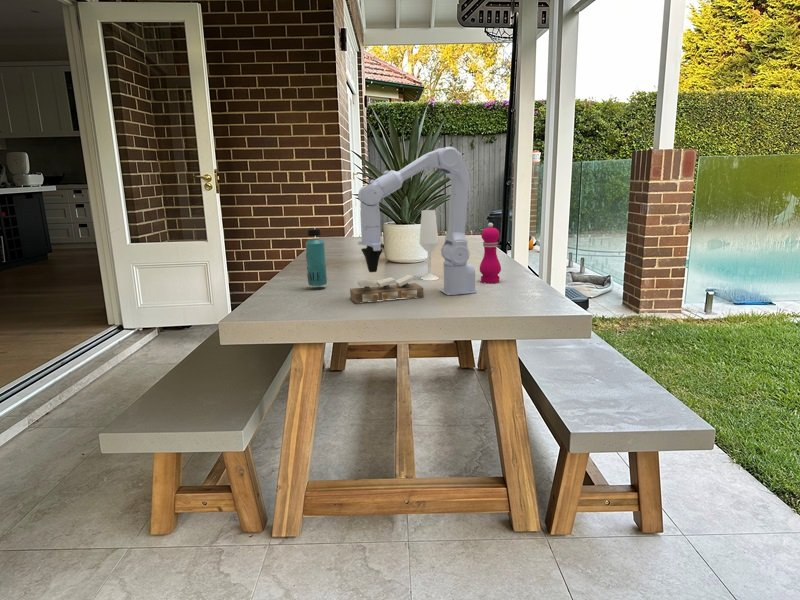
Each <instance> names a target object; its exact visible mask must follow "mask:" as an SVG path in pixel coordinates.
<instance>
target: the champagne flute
mask: <svg viewBox="0 0 800 600" xmlns="http://www.w3.org/2000/svg"><path fill="white" fill-rule="evenodd" d="M436 215H437V213H436V209H425V210H423V209H422V210H421V215H420V216H421V217H420V228H419V245H420V247H421V248H422V249H423V250H424V251H425V252H427V273H426V274H424V275H423V276H422V277H420V278H421V279H423V280H422V281H435V280H439V279H440V277H438V276H436V275H435V274H433V273H432V251H434V250H435V249H436V248H437V246H438V244H439V235H438V224H437V216H436ZM421 279H420V280H421Z"/></svg>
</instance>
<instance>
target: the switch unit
mask: <svg viewBox="0 0 800 600" xmlns="http://www.w3.org/2000/svg"><path fill="white" fill-rule="evenodd" d="M349 294H350V296H349V297H351V298H350V299H351V300H352V302H353V301H354V302H355V303H360V302H368V301H377V300H386V299H396V298H413V299H416V298H415V297H424V287H423V286H421V285H419V284H418V283H416V282H413V283H411V282H409V283H407V284H404V285H402V286H398V285H397V284H389V285H385V286H382V287H380V286H378V285H377V286H367V287H354V288H353V287H352V288H349ZM354 302H353V303H354ZM355 303H354V304H355ZM360 304H361V303H360Z"/></svg>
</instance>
